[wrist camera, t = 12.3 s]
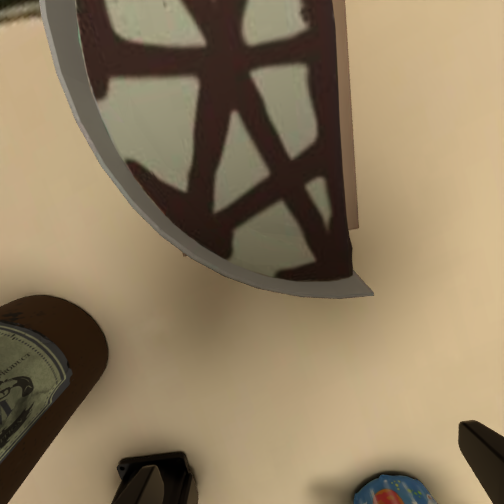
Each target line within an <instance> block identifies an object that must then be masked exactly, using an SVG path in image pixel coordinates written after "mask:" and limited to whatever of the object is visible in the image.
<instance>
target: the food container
mask: <svg viewBox="0 0 504 504" xmlns="http://www.w3.org/2000/svg"><path fill="white" fill-rule="evenodd" d="M39 2H40V9H41V17H42V20H43V24H44V28H45V32H46V36H47V39H48V43H49V47H50V51H51V55H52V58H53V62H54V66H55V70H56V73H57V76H58V78H59V81H60V83H61V86H62V88H63V91H64V93H65V96H66V98H67V101H68V103H69V105H70V108H71V110H72V113H73V115H74V118H75V120H76V123H77V124H78V126H79V128H80V130H81V132H82V133H83V135H84V137H85V139H86V140H87V142H88V144H89V146H90V147H91V149H92V151H93V153H94V154H95V156H96V158H97V160H98V162H99V163H100V165H101V167H102V168H103V169H104V171H105V172H106V173H107V175H108V176H109V177H110V178H111V180H112V181H113V182H114V184H115V185H116V186H117V188H118V189H119V190H120V192H121V193H122V194H123V196H124V197H125V198H126V200H127V201H128V202H129V204H130V205H131V206H132V207H133V208H134V209H135V210H136V211H137V212H138V213H139V214H140V215H141V216H142V217H143V218H144V219H145V220H146V221H147V222H148V223H149V224H150V225H151V226H152V227H153V228H154V229H155V230H156V231H157V232H158V233H159V234H160V235H161V236H162V237H163V238H165V239H166V240H167V241H169V242H170V243H171V244H173V245H174V246H175V247H177V248H178V249H179V250H181V251H182V252H183V253H185V254H186V255H187V256H189V257H190V258H191V259H193V260H195V261H197V262H199V263H201V264H202V265H204V266H206V267H208V268H210V269H212V270H214V271H215V272H217V273H219V274H221V275H223V276H225V277H228V278H230V279H233V280H236V281H239V282H241V283H244V284H247V285H250V286H253V287H255V288H258V289H263V290H268V291H273V292H278V293H283V294H288V295H293V296H299V297H313V298H333V299H342V298H353V297H364V296H374V292H373V291H372V290H371V289H370V288H369V287H368V286H367V285H366V284H365V283H364V281H363V280H362V279H361V278H360V277H359V276H358V275H357V274H356V273H355V272H354V270H353V265H352V245H351V241H350V237H349V231H348V223H347V215H346V202H345V190H344V177H343V163H342V148H341V132H340V114H339V88H338V67H337V47H336V27H335V18H334V10H333V2H332V0H39Z"/></svg>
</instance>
